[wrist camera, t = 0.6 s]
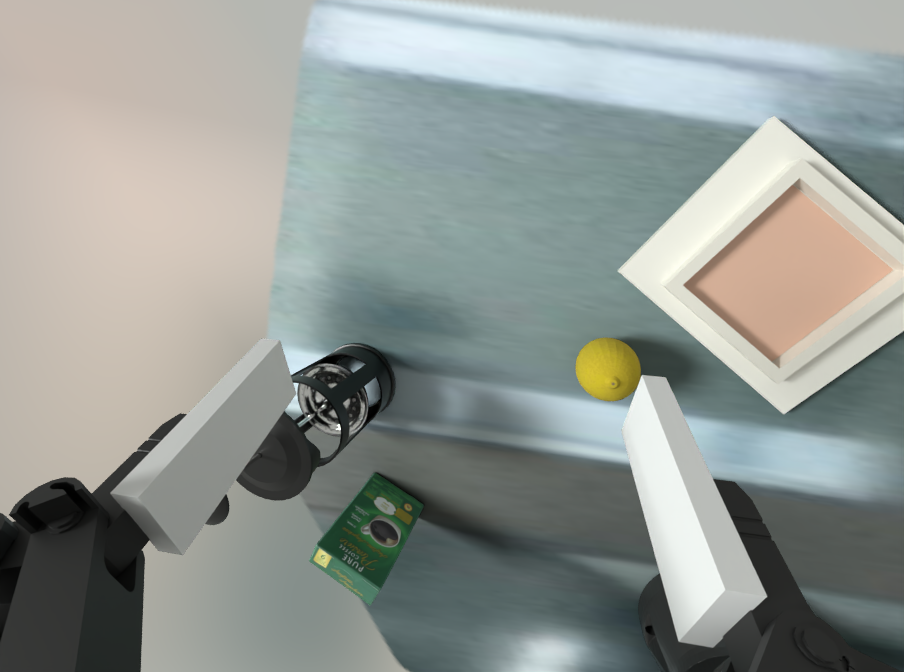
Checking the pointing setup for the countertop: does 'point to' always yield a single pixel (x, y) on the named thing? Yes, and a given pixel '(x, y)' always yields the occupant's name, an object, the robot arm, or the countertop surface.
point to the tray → (779, 268)
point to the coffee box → (367, 537)
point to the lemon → (608, 369)
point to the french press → (315, 424)
